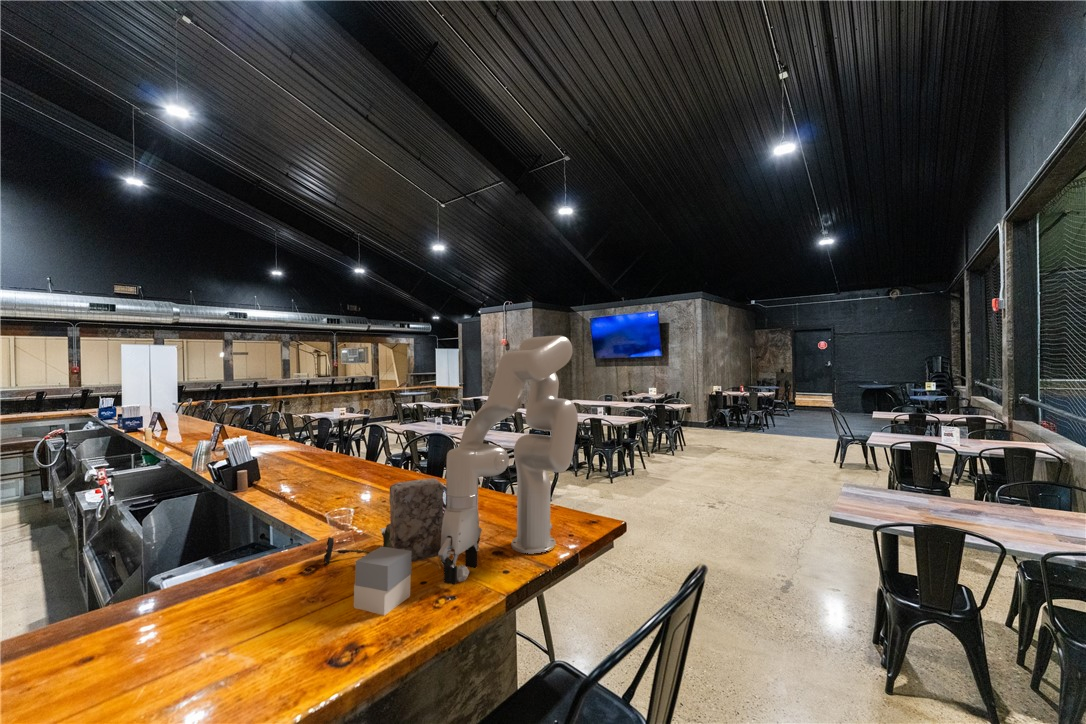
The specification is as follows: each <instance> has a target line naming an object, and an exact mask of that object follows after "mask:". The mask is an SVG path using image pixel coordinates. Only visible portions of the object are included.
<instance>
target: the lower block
mask: <svg viewBox="0 0 1086 724" xmlns="http://www.w3.org/2000/svg"><path fill="white" fill-rule="evenodd" d="M410 597H411V574H410V575H409V576H408V577H406V578H405V579H404V580H402V581H401V582H400V583H398V584H397V585H396V586H394V587H393V588H391V589H390V590H389V591H383V590H377V589H372V588H367V587H361V586H356V585H355V583H354V585H353V609H354V608H355V609H358V610H361V611H365V612H370V613H373V614H377V615H382V616H386V615H387V614H389V613H390V612H391V611H392V610H394V609H395V608H396V607H398V606H399V605H400V604H402V603H403V602H404V601H406V600H407V599H408V598H410Z"/></svg>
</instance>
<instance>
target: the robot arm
mask: <svg viewBox="0 0 1086 724" xmlns="http://www.w3.org/2000/svg"><path fill="white" fill-rule="evenodd" d="M572 356H573V345H572V342H571V341H570V340H569V338H568V337H566V336H563V335H547V336H535V337H529V338H525V339H524V340H522V341H521V343H520V344H519V347H518V350H513V351H508V352H505V353H503V355H502V356H501V357H500V359H499V362H498V365H497V367H496V371H495V374H494V377H493V381H492V384H491V388H490V390H489V394H488V397H487V400H486V401H485V403H484V404H483V405H482V406H481V407H480V408H479V409H478V410H477V411H476V412H475V414H474V415H473V416H472V417H471V418H470V420H469V421H468V423H467V424H466V425H465V427H464V430H463V432H462V435H461V439H460V441H459V445H458V447H455V448H452V449H450V450H449V451H447V454H446V473H445V474H446V475H445V476H446V478H445V480H446V481H445V482H446V485H445V486H446V490H445V491H446V492H445V509H444V511H443V515H442V518H443V522H442V533H441V549H440V551H439V553H438V557H439V561H440V562H441V564H442V567H443V582H444V583H445V584H450V585H452V586H453V585H454V586H455V585H456V584H457V583H458V581H457V566H458V565H456V564H457V561H458V559H459V555H461V554H462V553H464V555H465V556H464V557H465V558H464V566H466V567H467V568H471V569H476V568H477V567H478V551H479V548H480V547H479V543H480V541H481V534H482V530H483V529H482V528H481V527H480V521H479V519H480V518H479V478H481V477H497V476H498V475H499V476H500V474H502V473H504V472H505V471H506V469H507V468H508V466H509V463H510V457H509V454H508V452H507V450H506V449H504V448H503V447H501V446H499V445H496V444H488V443H484V440H485V438H486V436H487V434H488V432H489V431H490V430H491V428H493V427H494V426H495V425H496V424H498V423H499V422H501V421H503V420H505V419H507V418H509V417H510V416H511V417H512V416H513V415H514V414H515V413H517V411H518V410H519V406H520V402H521V399H522V396H523V393H524V388H525V385H526V383H527V382H528V383H530V385H529V392H528V398H527V405H526V410H525V419H524V420H525V423H526V425H527V426H528V427H529V428H530V429H533V430H537V431H545V432H546V431H547V432H551V433H550V434H551V435H545V434H535V433H528V434H524V435H522V436H520V437H519V438H517V440H516V442H515V444H514V447H513V456H514V462H515V468H516V477H517V478H516V479H517V481H516V482H517V488H516V489H517V491H516V493H517V494H516V495H517V497H516V498H517V499H516V501H517V502H516V508H517V509H516V537H514V538H513V539H512V541H511V548H512V549H513V550H514V551H516V552H517V553H522V554H525V553H526V555H535V554H534V553H541V552H546V551H548V550H550V549H552V548H553V547H554V546H555V544H556V543H557V542H556V540H555V538H554V537H552V536H551V529H552V528H553V524H552V523H551V480H550V476H549V473H548V472H552V473H562V472H565V471H567V469H569V467H570V465H571V462H572V460H573V455H574V451H575V442H576V435H577V430H578V422H579V421H578V420H579V416H578V410H577V407H576V404H575V403H574V402H573V401H571V400H569V399H567V398H561V397H560V398H558V396H559V388H560V387H559V386H560V381H559V376H558V375H557V372H558V371H559V370H561V369H562V368H564V367H565V366H566V365H567V364H568V363H570V360H571V359H572ZM556 545H557V544H556ZM555 547H556V546H555ZM453 550H454V551H453ZM527 553H528V554H527ZM546 553H547V552H546ZM450 556H452V559H451V558H450Z"/></svg>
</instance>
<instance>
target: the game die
mask: <svg viewBox="0 0 1086 724" xmlns="http://www.w3.org/2000/svg"><path fill="white" fill-rule="evenodd" d="M456 566H457V582H458V583H460V582H465V581H466V580H467V579H468V576H469V574H470V570H469V569H468V567H466V566H465V564H461V565H456Z"/></svg>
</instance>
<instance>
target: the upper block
mask: <svg viewBox="0 0 1086 724" xmlns="http://www.w3.org/2000/svg"><path fill="white" fill-rule="evenodd" d="M370 552H371V553H369V554H368V553H366V554H365V555H364V556H362V557H360V558H358V559H357V560H355V570H354V571H355V575H354V577H355V581H354V584H355V585H356V586H361V587H367V588H372V589H377V590H383V591H389V590H390V589H391V588H393V587H394V586H396V585H397V584H398V583H400V582H401V581H402V580H404V579H405V578H406V577H408V576H409V575H410V576H411V575H412V562H411V555H412V551H409V550H402V549H396V548H389V547H383V545H382V546H379V547H377V548H376V549H374V550H372V551H370Z"/></svg>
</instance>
